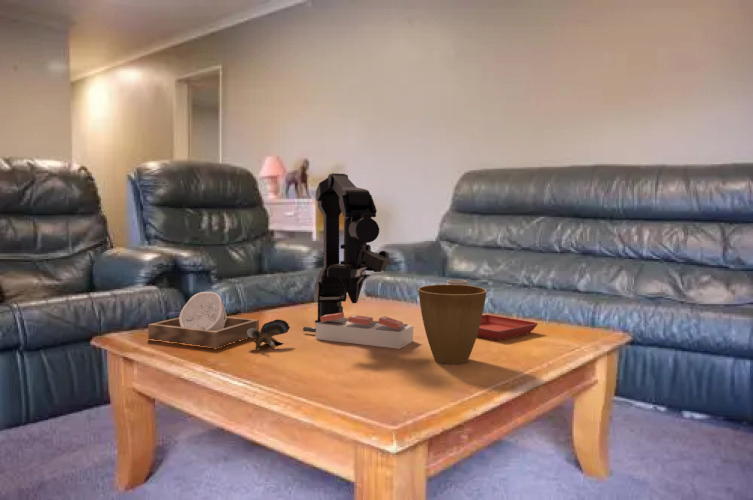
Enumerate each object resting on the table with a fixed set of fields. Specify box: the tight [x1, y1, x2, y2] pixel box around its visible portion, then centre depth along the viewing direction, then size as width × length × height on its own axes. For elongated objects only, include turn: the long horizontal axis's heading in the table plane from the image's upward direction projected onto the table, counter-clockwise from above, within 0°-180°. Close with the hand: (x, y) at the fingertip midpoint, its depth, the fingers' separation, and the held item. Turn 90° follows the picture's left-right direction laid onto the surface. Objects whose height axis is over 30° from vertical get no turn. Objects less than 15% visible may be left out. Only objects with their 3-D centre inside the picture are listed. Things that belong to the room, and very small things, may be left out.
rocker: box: [348, 314, 374, 325], centre depth 146 cm, size 5×4×1 cm
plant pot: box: [417, 283, 488, 365], centre depth 129 cm, size 15×15×16 cm
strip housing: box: [302, 317, 414, 350], centre depth 150 cm, size 29×9×4 cm, turn 67°
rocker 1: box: [320, 311, 345, 322], centre depth 149 cm, size 5×4×1 cm
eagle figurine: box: [247, 318, 291, 350], centre depth 140 cm, size 8×7×9 cm
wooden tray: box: [147, 316, 260, 349], centre depth 148 cm, size 20×17×4 cm
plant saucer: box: [477, 314, 539, 341], centre depth 161 cm, size 18×18×3 cm
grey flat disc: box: [178, 291, 228, 331], centre depth 149 cm, size 10×14×12 cm
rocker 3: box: [377, 315, 404, 329], centre depth 143 cm, size 5×4×1 cm
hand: (354, 303), depth 146 cm, fingers closed
